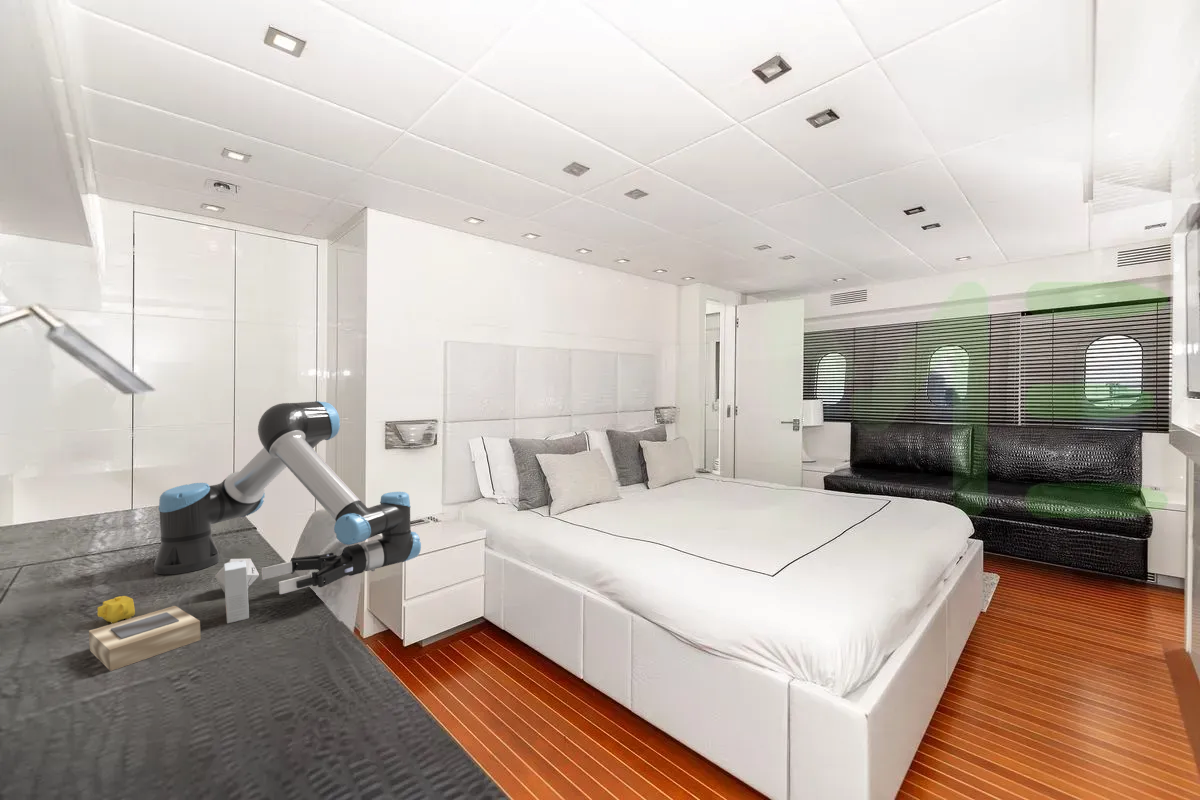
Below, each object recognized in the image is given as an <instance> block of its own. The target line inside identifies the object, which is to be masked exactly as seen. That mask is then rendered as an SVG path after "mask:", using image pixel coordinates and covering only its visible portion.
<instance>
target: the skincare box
mask: <svg viewBox="0 0 1200 800" xmlns="http://www.w3.org/2000/svg"><path fill="white" fill-rule="evenodd" d="M223 566H224V582H225V593H224V597H225V598H224V599H225V601H224V602H225V614H226V624H233V623H234V622H240V621H244V620H249V619H250V607H249V604H250V603H249V587H248V584H247V567H246V561H245V560H242V561H236V562H230V563H227V562H226V563H225V562H224V563H223Z"/></svg>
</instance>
